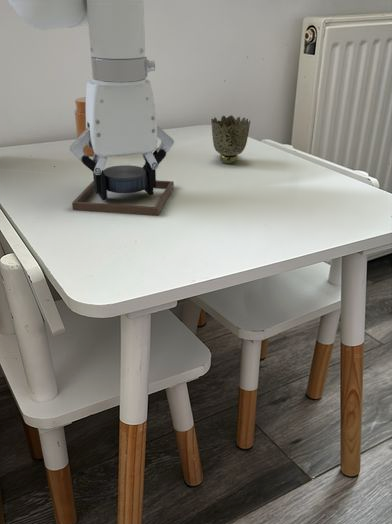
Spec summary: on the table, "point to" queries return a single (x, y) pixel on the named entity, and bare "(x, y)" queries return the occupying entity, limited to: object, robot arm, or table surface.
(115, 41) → the robot arm
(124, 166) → the lid
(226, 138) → the cup
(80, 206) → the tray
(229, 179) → the table surface
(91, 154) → the jar
